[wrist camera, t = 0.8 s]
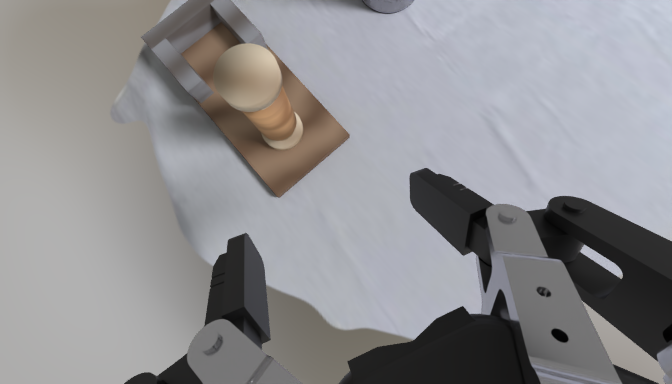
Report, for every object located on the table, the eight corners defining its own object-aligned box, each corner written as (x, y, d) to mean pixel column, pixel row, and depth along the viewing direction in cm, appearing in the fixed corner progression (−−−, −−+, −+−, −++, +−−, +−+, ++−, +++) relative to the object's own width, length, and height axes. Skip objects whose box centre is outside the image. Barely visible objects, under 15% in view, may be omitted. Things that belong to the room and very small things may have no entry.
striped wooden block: (162, 59, 36) (139, 38, 32) (229, 7, 37) (214, -21, 32) (279, 197, 33) (270, 194, 29) (349, 137, 34) (350, 126, 30)
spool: (265, 110, 33) (217, 41, 20) (305, 112, 33) (281, 44, 20) (261, 149, 33) (209, 103, 20) (301, 151, 32) (275, 107, 19)
